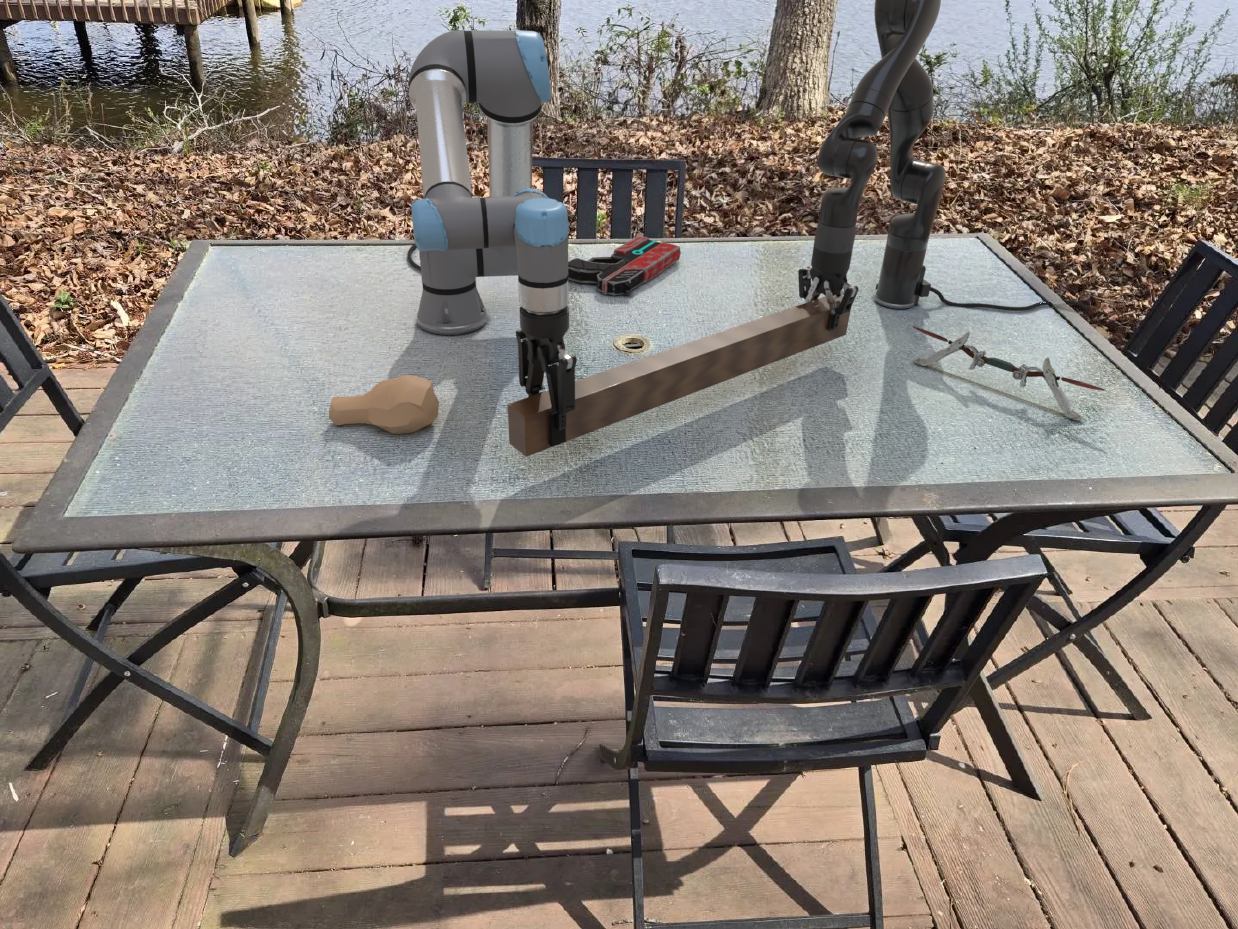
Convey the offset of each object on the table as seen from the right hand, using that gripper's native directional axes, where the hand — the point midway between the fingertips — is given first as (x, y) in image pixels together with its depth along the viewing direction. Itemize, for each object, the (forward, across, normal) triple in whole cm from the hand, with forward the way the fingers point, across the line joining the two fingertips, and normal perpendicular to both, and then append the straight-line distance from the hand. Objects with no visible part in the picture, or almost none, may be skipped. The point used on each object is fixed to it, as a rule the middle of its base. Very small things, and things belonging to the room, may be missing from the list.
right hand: (820, 324), depth 180 cm
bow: (+9, -30, -20) cm, 37 cm away
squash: (+8, +29, +84) cm, 89 cm away
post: (+3, 0, +34) cm, 34 cm away
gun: (+9, +63, +2) cm, 63 cm away
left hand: (+2, 0, +68) cm, 68 cm away
